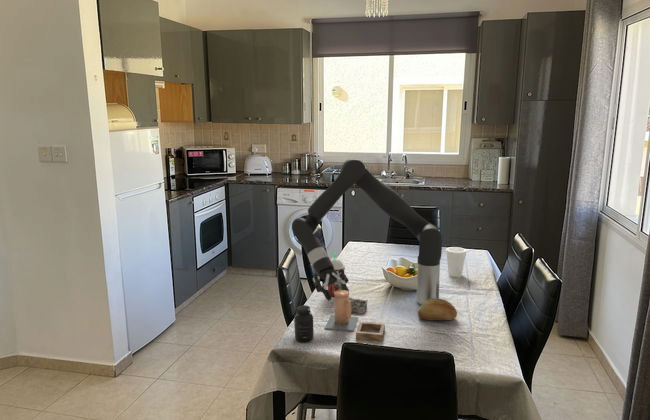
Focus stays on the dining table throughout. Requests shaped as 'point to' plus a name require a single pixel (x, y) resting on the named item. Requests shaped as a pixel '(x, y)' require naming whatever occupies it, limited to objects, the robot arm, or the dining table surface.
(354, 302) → the egg carton
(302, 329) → the supplement bottle
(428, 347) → the dining table surface
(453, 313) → the bread roll
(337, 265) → the smoothie
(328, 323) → the slate mat
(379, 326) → the walnut collar
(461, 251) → the foam cup
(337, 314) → the peach column
